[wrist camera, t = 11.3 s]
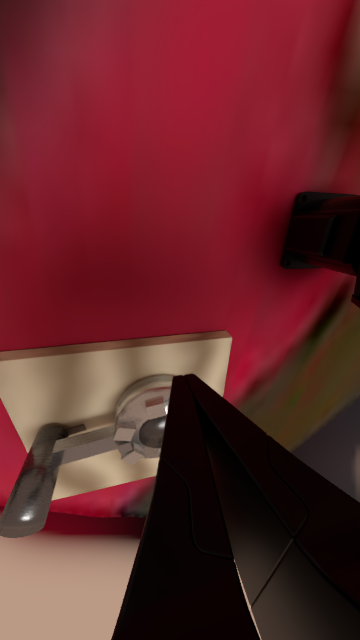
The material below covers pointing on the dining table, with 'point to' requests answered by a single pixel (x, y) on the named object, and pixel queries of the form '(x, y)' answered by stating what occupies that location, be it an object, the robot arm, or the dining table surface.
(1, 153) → the dining table surface
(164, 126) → the dining table surface
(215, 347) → the birch board
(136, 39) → the dining table surface
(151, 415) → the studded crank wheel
